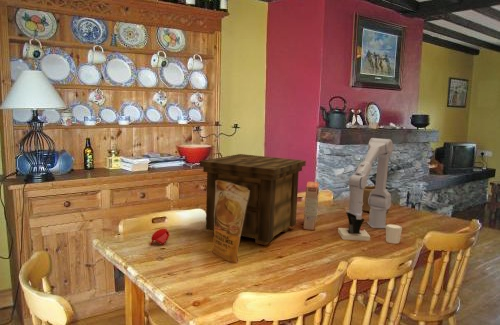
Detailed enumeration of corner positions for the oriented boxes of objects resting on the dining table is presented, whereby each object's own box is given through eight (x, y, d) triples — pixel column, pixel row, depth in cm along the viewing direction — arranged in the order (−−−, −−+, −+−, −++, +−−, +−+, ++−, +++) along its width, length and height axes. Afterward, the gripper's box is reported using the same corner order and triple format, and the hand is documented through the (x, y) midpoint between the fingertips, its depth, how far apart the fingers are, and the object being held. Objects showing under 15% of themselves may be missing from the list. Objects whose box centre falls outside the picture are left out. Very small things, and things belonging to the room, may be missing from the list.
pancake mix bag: (220, 246, 162) (222, 178, 158) (249, 262, 147) (252, 187, 143) (205, 249, 158) (207, 179, 154) (234, 265, 143) (236, 188, 139)
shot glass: (390, 244, 172) (391, 228, 171) (381, 239, 179) (382, 224, 178) (404, 243, 174) (405, 228, 173) (394, 238, 181) (395, 223, 180)
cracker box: (315, 230, 188) (318, 187, 185) (302, 229, 189) (305, 186, 186) (317, 222, 201) (319, 181, 198) (304, 221, 203) (307, 180, 200)
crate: (301, 228, 190) (305, 160, 186) (270, 250, 159) (274, 169, 155) (237, 217, 206) (239, 154, 202) (198, 234, 176) (199, 161, 171)
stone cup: (354, 211, 227) (356, 185, 225) (364, 207, 236) (366, 182, 234) (380, 216, 218) (382, 189, 216) (389, 212, 226) (391, 186, 224)
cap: (170, 232, 167) (157, 225, 166) (172, 231, 162) (159, 224, 161) (160, 249, 165) (147, 242, 163) (162, 249, 159) (149, 242, 158)
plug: (348, 234, 184) (349, 224, 183) (356, 235, 184) (357, 224, 183) (350, 237, 180) (351, 226, 179) (359, 238, 180) (360, 227, 179)
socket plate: (337, 231, 187) (338, 226, 187) (363, 233, 187) (364, 227, 187) (342, 239, 177) (343, 233, 176) (370, 240, 176) (370, 235, 176)
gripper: (343, 197, 187) (341, 225, 189) (350, 204, 173) (348, 235, 174) (359, 198, 187) (356, 226, 189) (367, 205, 172) (364, 236, 174)
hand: (353, 230), depth 182 cm, fingers open, 7 cm apart
